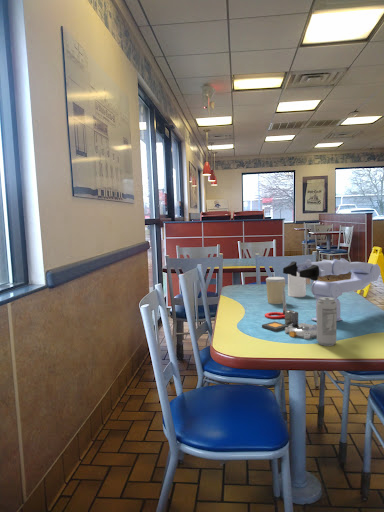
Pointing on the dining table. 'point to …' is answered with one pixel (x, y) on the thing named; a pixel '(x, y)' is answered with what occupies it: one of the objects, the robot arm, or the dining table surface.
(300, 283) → the white upright block
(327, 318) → the energy drink can
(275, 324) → the pad
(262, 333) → the dining table surface
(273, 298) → the coffee cup
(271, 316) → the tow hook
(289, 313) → the roller
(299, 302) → the dining table surface
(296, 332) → the sprocket
